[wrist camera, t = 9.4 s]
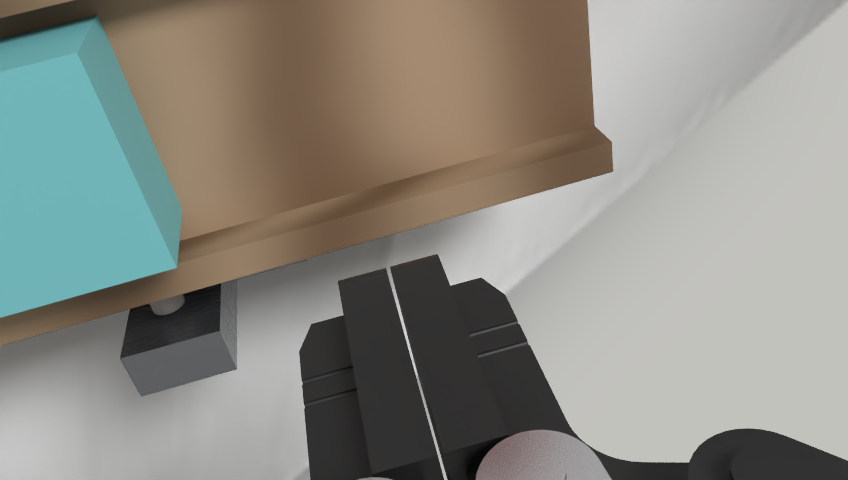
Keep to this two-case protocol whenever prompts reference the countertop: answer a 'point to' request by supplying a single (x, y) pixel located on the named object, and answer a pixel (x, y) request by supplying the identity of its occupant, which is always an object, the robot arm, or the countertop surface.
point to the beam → (332, 123)
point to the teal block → (76, 172)
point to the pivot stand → (183, 339)
